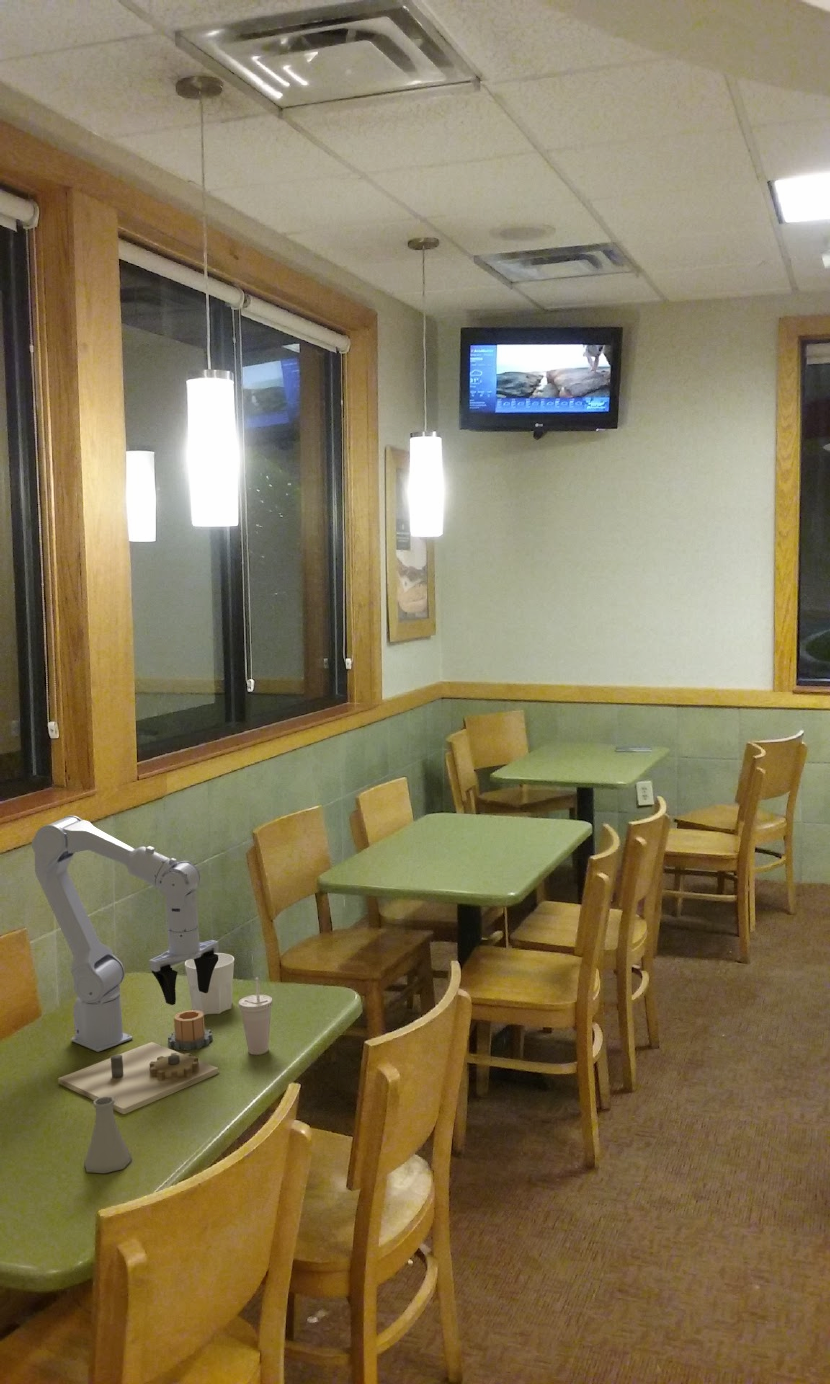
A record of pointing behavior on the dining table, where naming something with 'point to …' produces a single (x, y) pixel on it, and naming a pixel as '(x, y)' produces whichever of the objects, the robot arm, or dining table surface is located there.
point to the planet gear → (189, 1031)
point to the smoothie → (256, 1020)
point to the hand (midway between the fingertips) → (187, 997)
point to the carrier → (139, 1076)
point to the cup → (212, 986)
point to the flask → (106, 1141)
